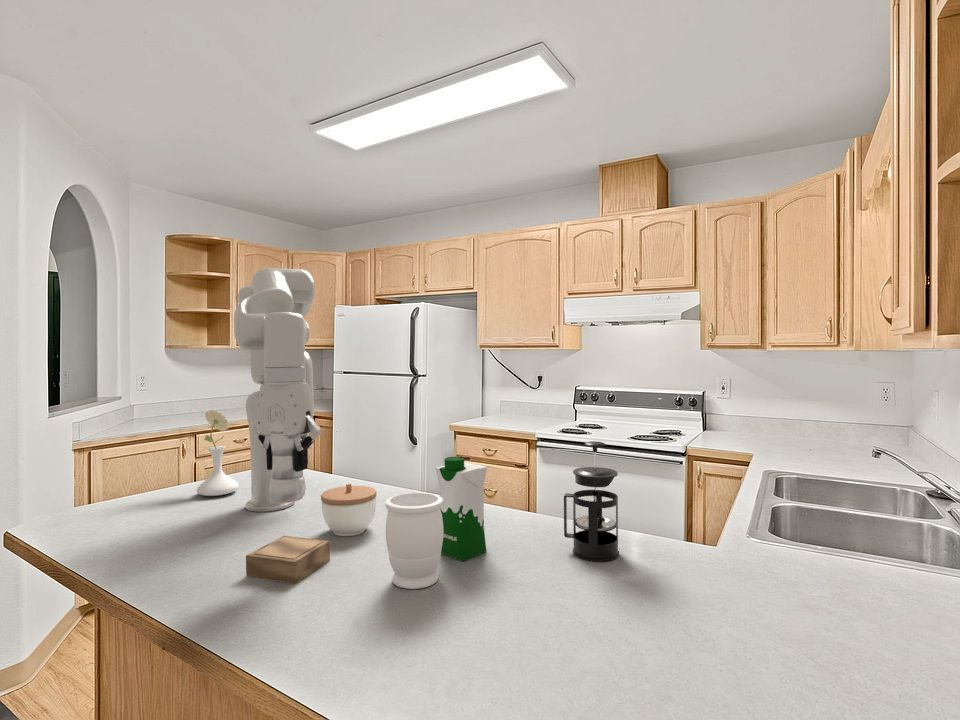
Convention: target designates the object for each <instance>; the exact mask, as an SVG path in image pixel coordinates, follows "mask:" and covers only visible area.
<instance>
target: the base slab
mask: <svg viewBox="0 0 960 720" xmlns="http://www.w3.org/2000/svg"><path fill="white" fill-rule="evenodd" d="M330 542H331V541H330V540H325V539H315V538H306V537H299V536H298V537H297V536H289V535H283V536H280V537H279V538H276V539H275V540H272V541H271V542H269V543H267V544H266V545H263V546H261V547H259V548H258V549H256V550H253V551H252V552H250V553H248V554H245V575H246V577H248V578H255V579H262V580H268V581H277V582H280V583H281V582H282V583H289V584H298V583H299V582H301V580H303V579H304V578H306V577H307V576H309V575H310V574H312V573H314V572H315V571H317V570H319V569H320V568H321V567H322V566H324V565H326V564H327V563H328V562H331V553H330V551H331V549H330V547H331V546H330V544H331V543H330Z"/></svg>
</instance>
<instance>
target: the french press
mask: <svg viewBox="0 0 960 720" xmlns="http://www.w3.org/2000/svg"><path fill="white" fill-rule="evenodd" d="M584 445H585V446H587V447H592V452H593V465H594V466H588V467H587V466H586V467H579V468H575V469H574V470H573V471H572V473H573V475H574V477H575V478H574V479H575V480H574V482H575V484H577V485H579V486H583V487H587V488H588V487H589V488H594V489H584V490H581V489H580V490H578V491H575V492H573V493H569V492H568V493H565V494H564V495H563V536H564V538H567V539H570V538H571V539H573V548H572V554H573V555H574V556H575V557H576V558H578V559H579V560H583V561H587V562H592V563H593V562H594V563H607V562H611V561H615V560H616V559H618V558H619V556H620V551H619V510H618V509H619V502H618V501H619V496H618V495H617V494H616V493H614V492H611V491H608V490H604V489H603V490H601V489H597V488H606V487H608V486H610V484H612V482H613V480H614V479H615V477H617V476H618V475H619V474H618V471H616V470H615V469H611V468H607V467H599V466H598V467H597V452H598V447H604V446H606V443H605V442H601V441H595V440H594V441H593V440H591V441H586V442H585V443H584ZM583 497H593V500H592V501H591V500H585V499H581V498H583ZM603 497H604V498H606V499H607V498H608V499H611V500H606V501H605V500H604V501H603ZM568 498H572V499H573V500H572V503H573V505H572V506H573V509H572V510H573V512H572V513H573V514H572V515H573V519H572V520H573V521H572V522H573V523H572V524H573V533H569V532H568V519H567V518H568V513H567V511H568V510H567V509H568V505H567V503H568V502H567V501H568V500H567V499H568ZM576 506H580V507H583V508H588V515H586V516H579V517H578V518H577V517H576V516H577V514H576ZM613 507H615V513H616V514H615V517H616V518H615V520H614V519H612V518H610V517H605V516H603V509H609V508H613ZM577 528H578V529H581V530H579V531H577ZM613 530H615V531H616V533H615V534H614V533H612V532H610V531H613ZM576 531H577V532H576Z"/></svg>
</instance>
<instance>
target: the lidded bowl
mask: <svg viewBox="0 0 960 720" xmlns="http://www.w3.org/2000/svg"><path fill="white" fill-rule="evenodd" d="M320 501H321V510H322V517H323V520H324V522H325V524H326V526H327V527H328V528H329V530H331V531H332V532H333V534H334V535H335V536H338V537H339V536H340V537H351V536H352V537H354V536H357V535H360V534H361V535H362V534H363V533H365V531H366V529H367V528H368V527H369V526H370V524H371V523H372V522H373V519H374V517H375V514H376V513H375V512H376V507H377V490H376V489H375V488H374V487H371V486H368V485H366V486H365V485H352V483H347V484H346V485H345V486H338V487H333V488H330V489H327V490H325V491H323V492H322V493H321V495H320Z"/></svg>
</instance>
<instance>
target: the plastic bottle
mask: <svg viewBox="0 0 960 720" xmlns="http://www.w3.org/2000/svg"><path fill="white" fill-rule="evenodd" d="M269 430H270V433H271V434H270V436H269V438H270V443H271V452H272V475H271V477H272V478H271V481H270V489H269V491H270V495H271V498H272V499H273V501H275V502H284V503H289V502H293V501H295V502H297V501H300V500H302V499H303V497H304V496H305V495H306V479H305V476H304V470H302V471H299V472H296V471H295V470H294V452H295V451H297V448H296V445H295V442H294V437H287V436H284V435H282V434H283V431H284V428H283V427H282V425H281V424H280V423H278V421H275V422H274V423H273V422H272V424H271V426H270V427H269ZM301 441H302V437H301Z"/></svg>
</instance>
